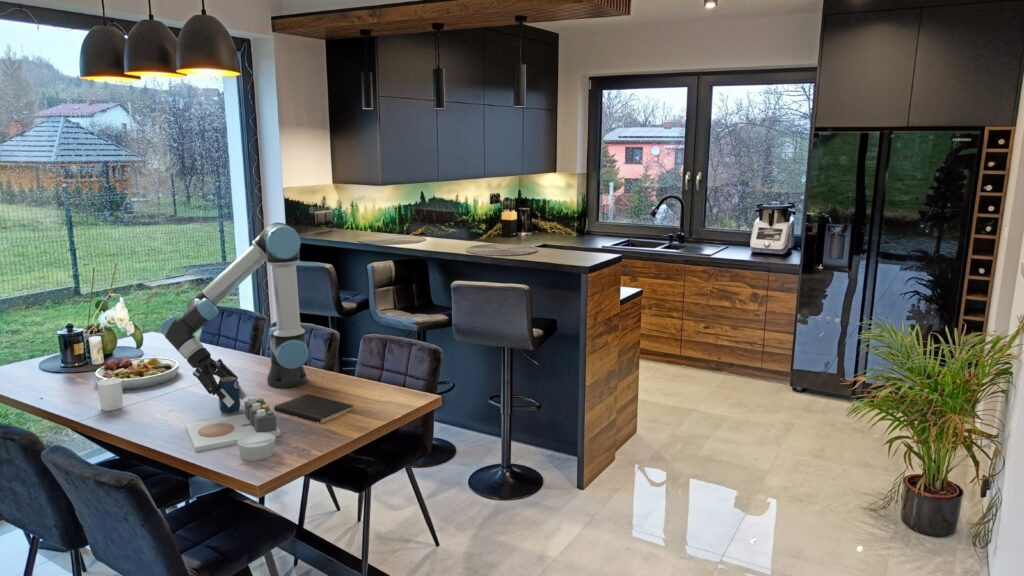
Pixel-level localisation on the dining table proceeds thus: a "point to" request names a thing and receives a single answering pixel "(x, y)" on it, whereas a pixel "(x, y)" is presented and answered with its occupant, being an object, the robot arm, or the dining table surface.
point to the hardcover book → (313, 408)
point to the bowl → (139, 371)
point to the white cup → (110, 393)
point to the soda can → (230, 394)
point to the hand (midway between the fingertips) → (238, 401)
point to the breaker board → (233, 426)
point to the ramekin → (256, 446)
